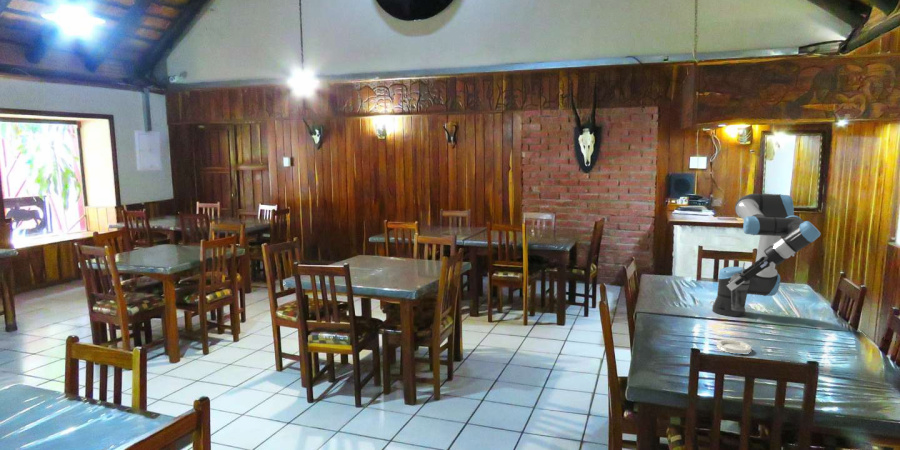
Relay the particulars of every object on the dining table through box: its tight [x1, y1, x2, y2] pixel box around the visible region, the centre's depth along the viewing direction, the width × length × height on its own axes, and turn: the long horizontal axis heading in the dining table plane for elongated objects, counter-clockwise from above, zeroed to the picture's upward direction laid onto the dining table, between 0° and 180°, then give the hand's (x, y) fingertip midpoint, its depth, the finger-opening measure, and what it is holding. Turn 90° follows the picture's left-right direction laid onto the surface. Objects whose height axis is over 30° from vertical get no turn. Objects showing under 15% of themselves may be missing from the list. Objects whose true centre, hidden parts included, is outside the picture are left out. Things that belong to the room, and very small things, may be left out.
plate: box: [716, 339, 753, 353], centre depth 232 cm, size 13×13×2 cm
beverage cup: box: [730, 261, 750, 311], centre depth 228 cm, size 7×7×20 cm
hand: (730, 286), depth 230 cm, fingers closed on beverage cup, 7 cm apart
